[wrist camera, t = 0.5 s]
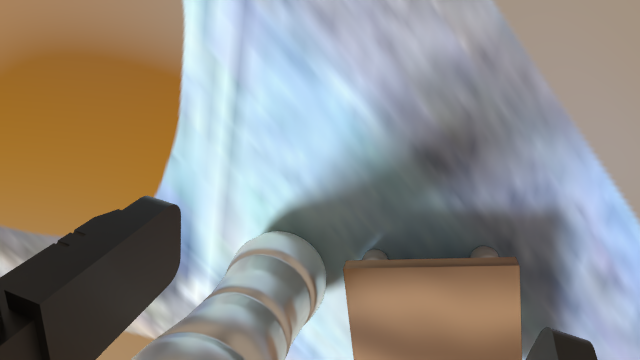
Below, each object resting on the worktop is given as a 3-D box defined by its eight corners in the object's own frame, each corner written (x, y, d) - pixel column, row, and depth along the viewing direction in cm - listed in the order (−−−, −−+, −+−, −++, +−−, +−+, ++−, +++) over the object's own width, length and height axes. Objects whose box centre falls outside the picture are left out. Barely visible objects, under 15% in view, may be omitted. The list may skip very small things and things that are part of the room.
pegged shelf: (353, 243, 31) (343, 268, 27) (506, 238, 28) (519, 265, 25) (367, 368, 33) (359, 409, 29) (510, 373, 31) (523, 419, 27)
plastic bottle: (259, 208, 32) (20, 409, 13) (346, 244, 31) (224, 516, 12) (236, 282, 34) (-2, 550, 15) (317, 318, 33) (172, 650, 14)
